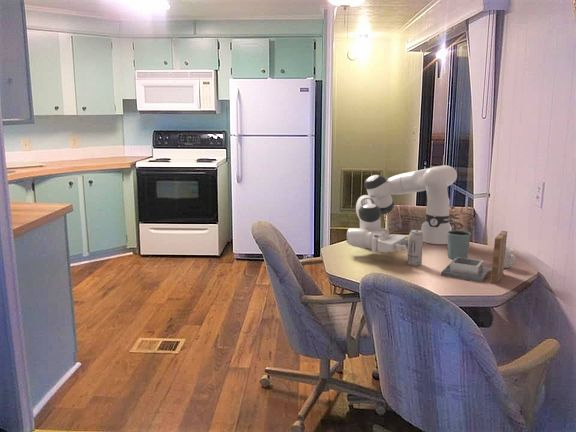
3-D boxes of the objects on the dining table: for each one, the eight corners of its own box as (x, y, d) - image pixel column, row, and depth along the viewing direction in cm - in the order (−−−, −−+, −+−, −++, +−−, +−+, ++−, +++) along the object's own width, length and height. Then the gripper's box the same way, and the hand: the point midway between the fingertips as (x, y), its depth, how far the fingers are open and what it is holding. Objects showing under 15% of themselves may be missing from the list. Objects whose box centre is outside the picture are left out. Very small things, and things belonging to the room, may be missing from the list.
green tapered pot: (469, 261, 231) (472, 235, 229) (446, 260, 233) (448, 234, 231) (466, 255, 241) (469, 230, 239) (444, 254, 243) (446, 229, 241)
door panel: (497, 273, 215) (502, 230, 212) (502, 273, 214) (507, 231, 211) (490, 283, 202) (494, 238, 198) (496, 284, 201) (500, 239, 197)
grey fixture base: (452, 265, 226) (452, 253, 225) (490, 271, 218) (491, 259, 217) (440, 275, 211) (441, 263, 210) (482, 282, 203) (483, 270, 202)
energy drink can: (404, 264, 225) (406, 230, 222) (411, 261, 229) (414, 228, 226) (416, 267, 221) (418, 233, 218) (423, 264, 225) (426, 231, 222)
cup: (520, 270, 219) (522, 252, 218) (505, 272, 217) (507, 253, 215) (503, 263, 229) (505, 246, 228) (488, 264, 227) (489, 247, 225)
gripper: (387, 243, 241) (416, 247, 234) (370, 252, 224) (401, 257, 217) (388, 229, 240) (417, 233, 233) (371, 238, 222) (402, 243, 215)
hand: (410, 245), depth 224 cm, fingers open, 8 cm apart
